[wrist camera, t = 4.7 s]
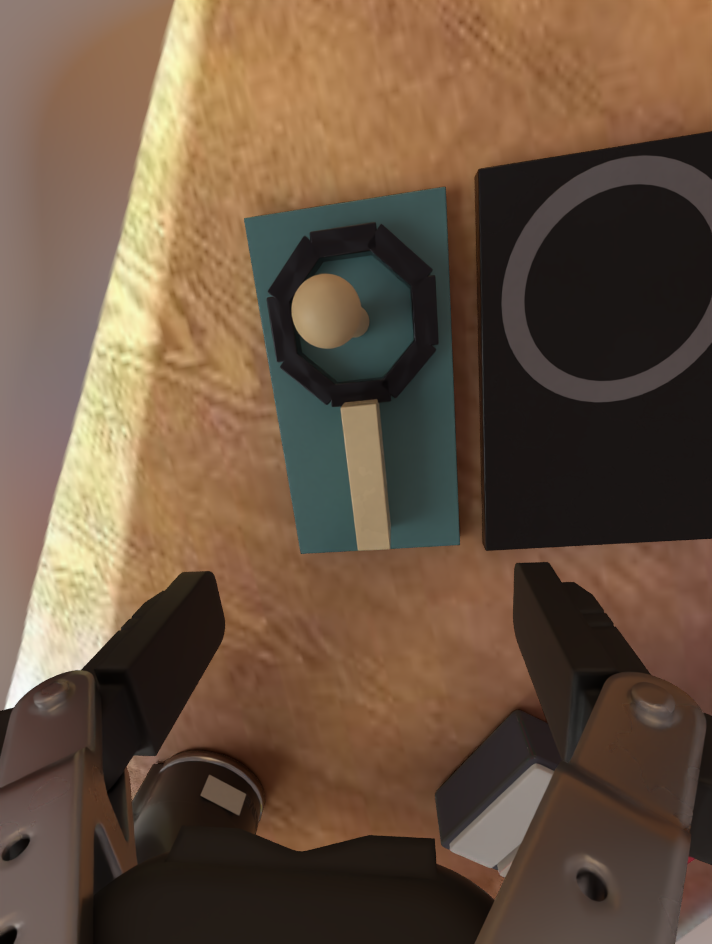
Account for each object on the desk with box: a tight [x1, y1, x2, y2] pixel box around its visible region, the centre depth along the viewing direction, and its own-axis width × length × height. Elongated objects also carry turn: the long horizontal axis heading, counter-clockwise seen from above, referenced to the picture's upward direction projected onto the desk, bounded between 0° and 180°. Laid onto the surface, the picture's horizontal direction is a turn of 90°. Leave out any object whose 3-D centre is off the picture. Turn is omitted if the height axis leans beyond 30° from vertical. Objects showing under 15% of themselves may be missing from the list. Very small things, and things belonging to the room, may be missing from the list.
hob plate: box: [475, 131, 712, 551], centre depth 22 cm, size 13×20×1 cm, turn 6°
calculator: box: [435, 710, 694, 877], centre depth 30 cm, size 11×4×15 cm
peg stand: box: [244, 187, 460, 554], centre depth 19 cm, size 10×19×11 cm, turn 6°
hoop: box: [266, 222, 439, 551], centre depth 22 cm, size 16×8×3 cm, turn 6°
